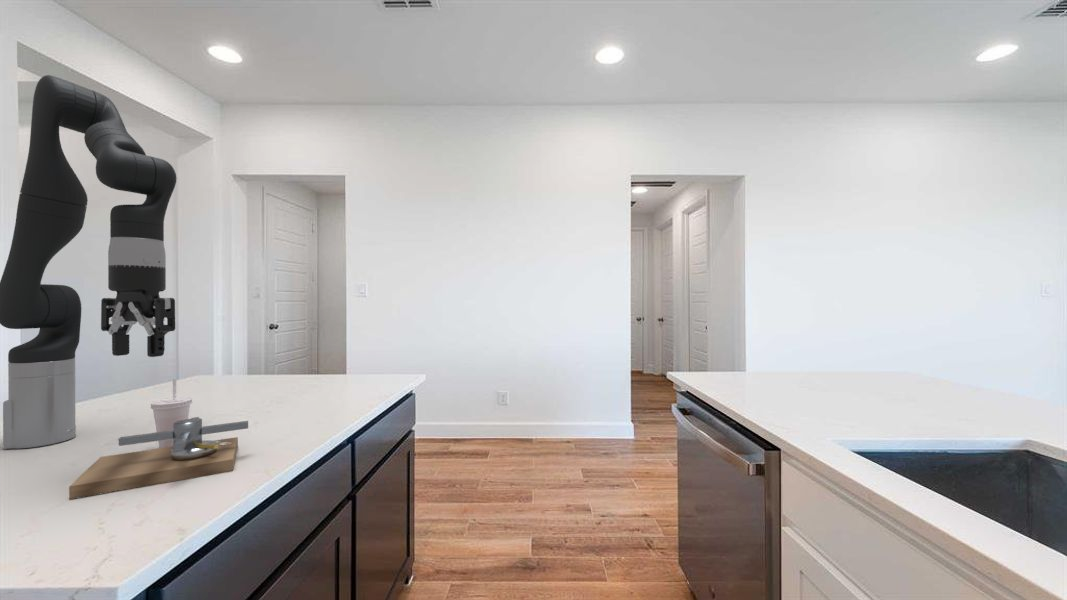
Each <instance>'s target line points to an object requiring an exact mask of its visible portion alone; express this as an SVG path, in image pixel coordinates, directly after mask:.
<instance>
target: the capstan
mask: <svg viewBox="0 0 1067 600" xmlns="http://www.w3.org/2000/svg"><path fill="white" fill-rule="evenodd" d="M246 429H249V420H244V421H243V420H242V421H237V422H236V421H235V422H227V423H220V424H213V425H203V419H202V418H200V416H195V417H191V418H188V419H185V420H180V421H177V422H174V423H173V430H172V431H164V432H157V431H156V432H151V433H149V432H148V433H142V434H136V435H134V434H133V435H126V436H120V437H119V438H118V447H121V446H123V447H124V446H130V445H137V444H144V443H151V442H158V441H160V440H167V439H173V449H172V450H171V458H172V459H176V460H184V459H192V458H198V457H202V456H205V455H208V454H211V453H213V452H215V451H216V450H217V448H218V444H217V442H216V441H214V440H210V439H209V440H206V439H205V440H203V435H209V434H217V433H224V432H233V431H238V430H239V431H240V430H246Z"/></svg>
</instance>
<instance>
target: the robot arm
mask: <svg viewBox="0 0 1067 600" xmlns="http://www.w3.org/2000/svg"><path fill="white" fill-rule="evenodd" d="M31 111H32V112H31V124H30V125H31V126H30V135H29V138H30V139H29V147H28V155H27V159H26V164H25V169H24V174H23V177H22V178H23V179H22V182H21V187H20V191H19V197H18V201H17V208H16V216H15V224H14V231H13V234H12V239H11V245H10V249H9V254H8V257H7V260H6V264H5V267H4V269H3V272H2V275H1V278H0V326H2V327H4V328H6V329H10V330H11V329H12V330H24V329H25V330H26V329H27V330H28V329H39V330H38V333H37V335H36V336H35V337H34V338H32V339H31V340H29V341H26V342H24V343H21V344H19V345H16V346H14V347H12V348H10V349H9V351H8V355H7V356H8V357H7V358H8V359H7V366H8V367H7V368H8V369H7V372H8V373H7V374H8V376H7V377H8V381H7V382H8V388H7V389H8V399H6V400H4V401H3V402H2V421H3V422H2V449H3V450H8V449H28V448H29V449H30V448H38V447H44V446H49V445H54V444H57V443H61V442H65V441H68V440H71V439H74V438H75V437H76V428H77V426H76V351H77V349H78V347H79V343H80V335H81V323H82V301H81V298H80V295H79V293H78V292H77V290H75V289H74V288H73V287H71V286H68V285H65V284H49V283H48V284H46V283H44V284H42V280H43V277H44V273H45V270H46V268H47V265H48V264H49V263H50V262H51V260H52V259H53V258H54V257H55V256H56V254H58V253H59V252H60V251H61V250H62V249H64V248H65V247H66V246H67V245H68V244H69V243H70V242H72V240H73V239H75V238H76V237H77V236H78V234H79V233H80V232H81V230H82V229H83V226H84V224H85V218H86V212H87V206H88V199H89V198H88V194H87V191H86V189H85V188H84V185H83V184H82V182H81V180H80V179H79V178H78V176H77V174H76V173H75V171H74V170H73V168H72V166H71V164H70V163H69V161H68V159H67V157H66V155H65V153H64V150H63V148H62V144H61V139H60V127H62V128H65V129H68V130H71V131H75V132H78V133H81V134H84V138H83V139H84V145H85V146H86V148H87V149H88V151H89V152H90V154H92V156H93V157H94V159H95V160H96V163H95V174H96V177H97V179H98V181H99V182H100V183H101V184H103V185H104V186H106V187H108V188H110V189H113V190H117V191H123V192H128V193H134V194H139V195H145V196H146V198H145V200H144V202H143V203H141V204H140V203H139V204H119V205H118V204H117V205H114V206H113V207H111V210H110V216H109V217H110V220H109V221H110V222H109V223H110V224H109V225H110V226H109V227H110V232H109V235H110V236H109V237H110V239H109V246H108V253H107V256H108V257H107V259H108V260H107V262H108V263H107V264H108V265H107V270H108V271H107V274H108V275H107V277H108V278H107V279H108V280H107V281H108V282H107V283H108V284H107V285H108V287H107V288H108V290H110V291H111V292H116V295H115V296H116V297H103V298H101V301H100V302H101V303H100V304H101V306H100V310H101V311H100V312H101V313H100V330H101V331H102V332H108V334H109V335H111V350H112V356H116V357H118V356H127V355H129V354H130V334H128V333H130V330H131V329H132V327H133V325H136V324H137V323H138V324H139V326H142V327H143V328H144V329H145V331H146V333H147V336H146V339H147V340H146V341H147V343H146V346H147V348H146V349H147V357H149V358H155V357H163V355H164V353H165V345H166V343H165V340H166V339H165V336H166V335H167V334H168V333H170V332H175V330H176V300H175V298H173V297H160V292H164V291H165V290H166V288H167V286H166V284H167V283H166V275H167V272H166V271H167V270H166V269H167V268H166V265H167V264H166V263H167V262H166V258H167V257H166V249H165V242H164V241H165V238H164V237H165V234H164V232H165V231H164V228H165V227H164V226H165V225H164V224H165V223H164V222H165V215H166V213H167V209H168V205H169V202H170V200H171V197H172V195H173V192H174V191H175V188H176V187H175V186H176V185H177V184H176V183H177V173H176V170H175V169H174V167H173V165H172V164H171V163H170V162H168V161H167V160H165V159H163V158H159V157H154V156H151V155H146V152H145V150H144V149H143V147H142V146H141V145H140V144H139V142H137V141H136V140H135V138H133V136H131V135H130V133H129V132H128V131H127V129H126V126H125V123H124V122H123V119H122V117H121V115H120V114H121V113H119V111H118V108H117V106H116V105H115V104H114V102H113V101H112V100H111V99H110V98H108V97H107V96H105V95H104V94H102V93H100V92H97V91H96V90H93V89H90V88H87V87H85V86H83V85H79V84H76V83H74V82H71V81H68V80H65V79H62V78H61V77H57V76H55V75H49V74H46V75H43V76H42V77H41V78H39V80H38V82H37V83H36V85H35V90H34V93H33V100H32V109H31ZM165 318H166V321H167V322H166V323H167V324H165ZM110 321H111V323H110ZM154 326H155V327H154Z"/></svg>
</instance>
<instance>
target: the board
mask: <svg viewBox="0 0 1067 600" xmlns="http://www.w3.org/2000/svg"><path fill="white" fill-rule="evenodd" d="M213 441H216V442H217V444H218V448H217V450H216V451H215V452H213V453H211V454H208V455H205V456H202V457H198V458H192V459H184V460H176V459H172V458H171V450H172V449H173V447H166V448H159V447H158V448H153V449H147V450H140V451H133V452H126V453H124V452H123V453H119V454H113V455H112V454H111V455H106V456H105V455H103V456H100V457H99V458H97V459H96V461H94V462H93V463H92V464H91V465H90V466H89V467H88V468H87V469H86V470H85V471H84V472H83V473H82V474H81V475H80V476H79V477H78V478H77V479H76V480H75V481H73V482H72V483H71V484H70V485H69V488H68V489H69V490H68V493H69V494H68V495H69V496H68V497H69V498H68V499H70V500H74V499H73V498H76V499H78V498H77V497H82V498H84V497H83V496H87V497H90V496H89V495H93V496H95V495H94V494H99V495H101V494H100V493H104V494H106V493H105V492H110V493H112V492H111V491H115V492H118V491H117V490H121V491H125V490H124V489H127V490H131V489H130V488H132V489H137V488H136V487H138V488H143V487H149V486H154V484H155V485H158V484H159V485H160V484H164V483H171V482H176V481H181V480H187V479H188V480H189V479H194V478H198V477H203V476H210V475H215V474H216V475H217V474H220V473H221V474H222V473H225V472H226V473H227V472H233V471H234V467H235V462H236V458H237V452H238V447H239V445H238V444H239V443H238V441H239V437H238V436H237V437H236V436H235V437H230V438H222V439H214V440H213Z"/></svg>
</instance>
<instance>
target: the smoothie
mask: <svg viewBox="0 0 1067 600" xmlns="http://www.w3.org/2000/svg"><path fill="white" fill-rule="evenodd" d="M191 404H193V398H192V397H191V396H190V397H189V396H178V397H177V378H172V397H169V398H162V399H157V400H154V401H152V402H151V403H150V409H151V410H152V412H153V418H154V424H155V430H156V432H164V431H172V430H173V423H174V422H177V421H180V420H185V419H189V415H190V407H191ZM157 442H158V449H159V448H166V447H173V439H167V440H160V441H157Z"/></svg>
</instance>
